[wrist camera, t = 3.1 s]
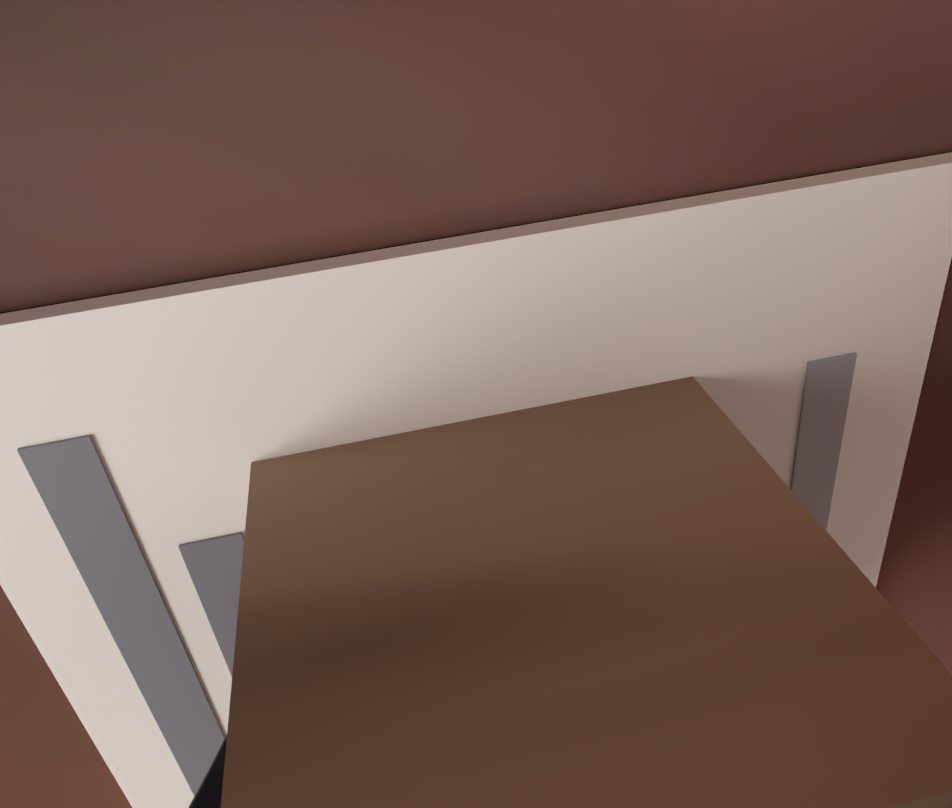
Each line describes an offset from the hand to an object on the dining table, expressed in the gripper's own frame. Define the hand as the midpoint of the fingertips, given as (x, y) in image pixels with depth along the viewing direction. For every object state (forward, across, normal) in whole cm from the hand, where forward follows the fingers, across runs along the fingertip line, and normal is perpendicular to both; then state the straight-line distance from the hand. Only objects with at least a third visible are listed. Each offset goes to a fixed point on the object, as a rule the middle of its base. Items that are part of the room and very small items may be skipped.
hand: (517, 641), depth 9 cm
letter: (+1, 0, 0) cm, 1 cm away
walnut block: (+1, 0, 0) cm, 1 cm away
